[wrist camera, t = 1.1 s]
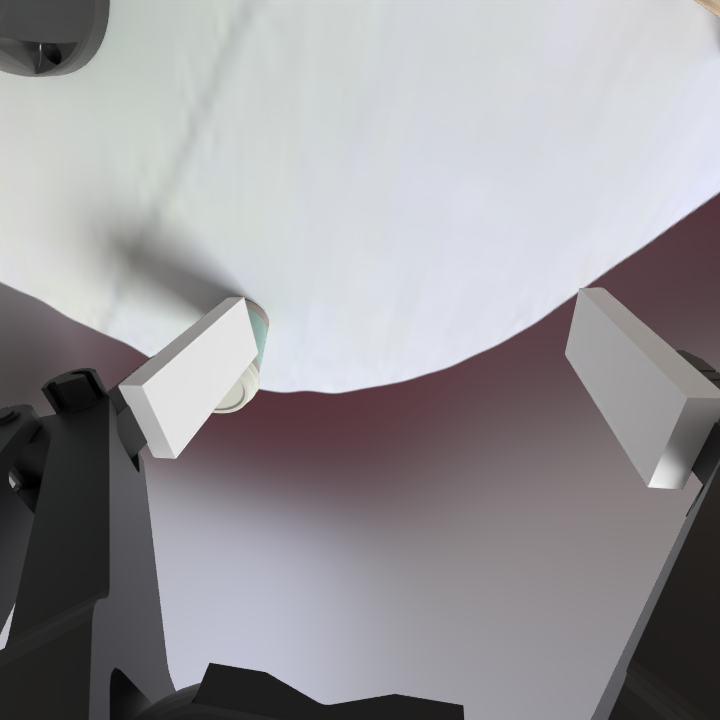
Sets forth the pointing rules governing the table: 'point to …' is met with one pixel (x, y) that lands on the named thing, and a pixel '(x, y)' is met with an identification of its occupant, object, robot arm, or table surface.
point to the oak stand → (711, 5)
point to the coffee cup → (250, 377)
